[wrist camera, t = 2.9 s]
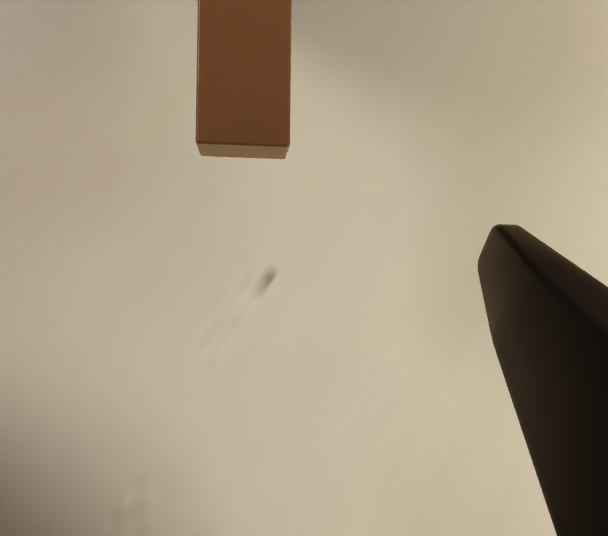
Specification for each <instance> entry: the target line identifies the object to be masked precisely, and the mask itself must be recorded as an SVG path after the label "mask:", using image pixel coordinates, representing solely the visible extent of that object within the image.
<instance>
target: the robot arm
mask: <svg viewBox="0 0 608 536" xmlns="http://www.w3.org/2000/svg"><path fill="white" fill-rule="evenodd" d="M478 273H479V278H480V283H481V288H482V293H483V298H484V303H485V308H486V312H487V317H488V322H489V327H490V332H491V336H492V340H493V344H494V347H495V350H496V353H497V357H498V360H499V363H500V366H501V369H502V372H503V375H504V378H505V381H506V384H507V387H508V390H509V393H510V396H511V399H512V402H513V405H514V408H515V411H516V414H517V417H518V420H519V423H520V426H521V429H522V432H523V435H524V438H525V441H526V444H527V447H528V450H529V453H530V456H531V459H532V462H533V465H534V468H535V471H536V474H537V477H538V480H539V483H540V486H541V489H542V492H543V495H544V498H545V501H546V504H547V507H548V510H549V513H550V516H551V519H552V522H553V525H554V528H555V531H556V534H557V536H608V287H607V286H606V285H604V284H603V283H601V282H600V281H598V280H597V279H595V278H594V277H592V276H591V275H590V274H588V273H587V272H585V271H584V270H582V269H581V268H579V267H578V266H577V265H575V264H574V263H572V262H571V261H569V260H568V259H566V258H565V257H563V256H562V255H561V254H559V253H558V252H556V251H555V250H553V249H552V248H550V247H549V246H548V245H546V244H545V243H543V242H542V241H540V240H539V239H537V238H536V237H535V236H533V235H532V234H530V233H529V232H527V231H526V230H524V229H523V228H521V227H520V226H518V225H503V224H498V225H495V226H494V227H493V228H492V229H491V231H490V233H489V235H488V238H487V240H486V242H485V245H484V247H483V249H482V252H481V254H480V257H479V260H478Z"/></svg>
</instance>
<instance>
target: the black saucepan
mask: <svg viewBox="0 0 608 536" xmlns="http://www.w3.org/2000/svg"><path fill="white" fill-rule="evenodd" d="M290 80H291V0H198V32H197V91H196V143H197V146H198V149H199V152H200V154H201V156H216V157H243V158H270V159H285V158H286V155H287V152H288V149H289V145H290Z"/></svg>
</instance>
